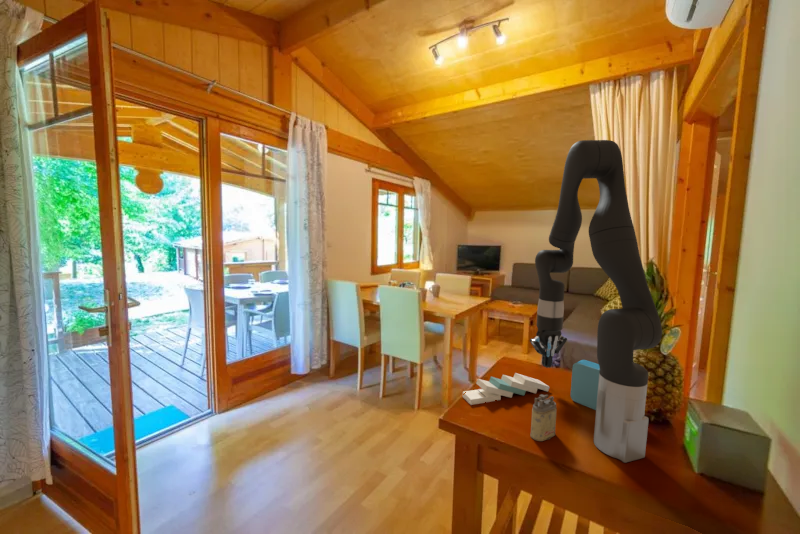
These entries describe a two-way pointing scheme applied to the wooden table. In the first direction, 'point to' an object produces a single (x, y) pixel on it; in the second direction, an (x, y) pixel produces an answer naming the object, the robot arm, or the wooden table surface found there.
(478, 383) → the domino
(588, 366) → the blue flat block
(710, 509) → the wooden table surface
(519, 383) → the domino
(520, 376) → the domino
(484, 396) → the domino
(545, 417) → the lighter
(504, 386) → the domino
